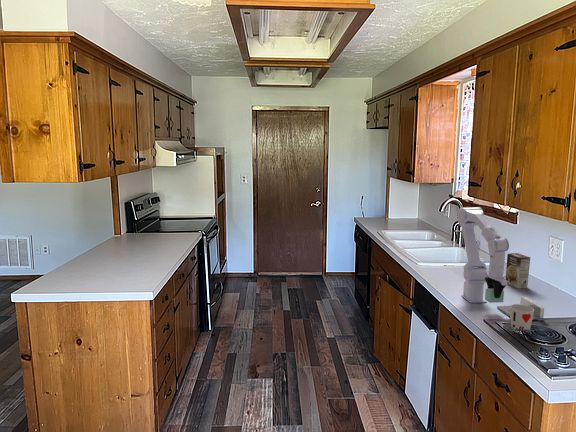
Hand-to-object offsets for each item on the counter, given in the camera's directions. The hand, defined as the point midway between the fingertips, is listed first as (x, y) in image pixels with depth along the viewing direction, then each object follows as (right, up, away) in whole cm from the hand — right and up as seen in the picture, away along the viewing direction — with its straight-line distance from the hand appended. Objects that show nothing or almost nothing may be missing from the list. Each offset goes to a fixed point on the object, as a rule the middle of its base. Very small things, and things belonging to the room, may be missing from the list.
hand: (494, 295), depth 186 cm
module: (0, -2, 0) cm, 2 cm away
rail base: (+10, -8, -1) cm, 13 cm away
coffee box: (+28, -1, +35) cm, 45 cm away
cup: (+1, -11, -18) cm, 22 cm away
